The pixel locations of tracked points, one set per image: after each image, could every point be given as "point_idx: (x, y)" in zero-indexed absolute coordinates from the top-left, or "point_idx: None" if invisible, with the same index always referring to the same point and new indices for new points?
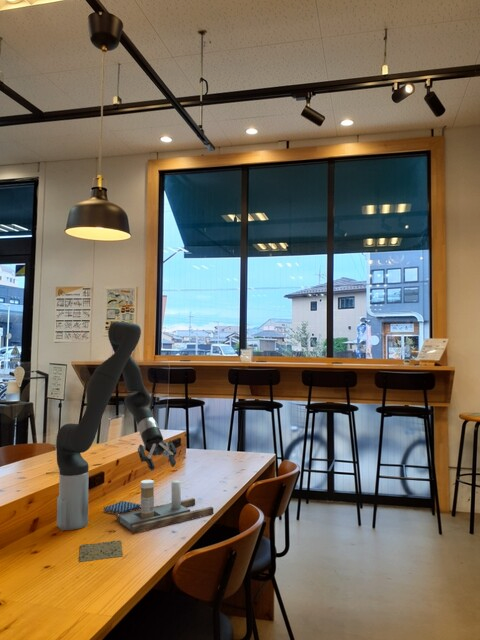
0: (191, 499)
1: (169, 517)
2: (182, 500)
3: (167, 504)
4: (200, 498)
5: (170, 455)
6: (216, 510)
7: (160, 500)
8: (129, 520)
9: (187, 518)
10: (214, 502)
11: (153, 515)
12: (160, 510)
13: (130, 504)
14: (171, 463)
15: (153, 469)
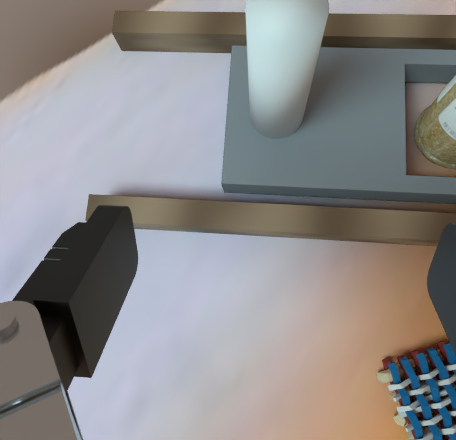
0: (108, 204)
1: (377, 23)
2: (160, 223)
3: (272, 218)
4: (5, 280)
5: (51, 335)
6: (83, 57)
7: (205, 427)
8: None
9: None
10: (3, 165)
11: (436, 99)
12: (371, 133)
13: (447, 431)
14: (121, 277)
15: (436, 257)
